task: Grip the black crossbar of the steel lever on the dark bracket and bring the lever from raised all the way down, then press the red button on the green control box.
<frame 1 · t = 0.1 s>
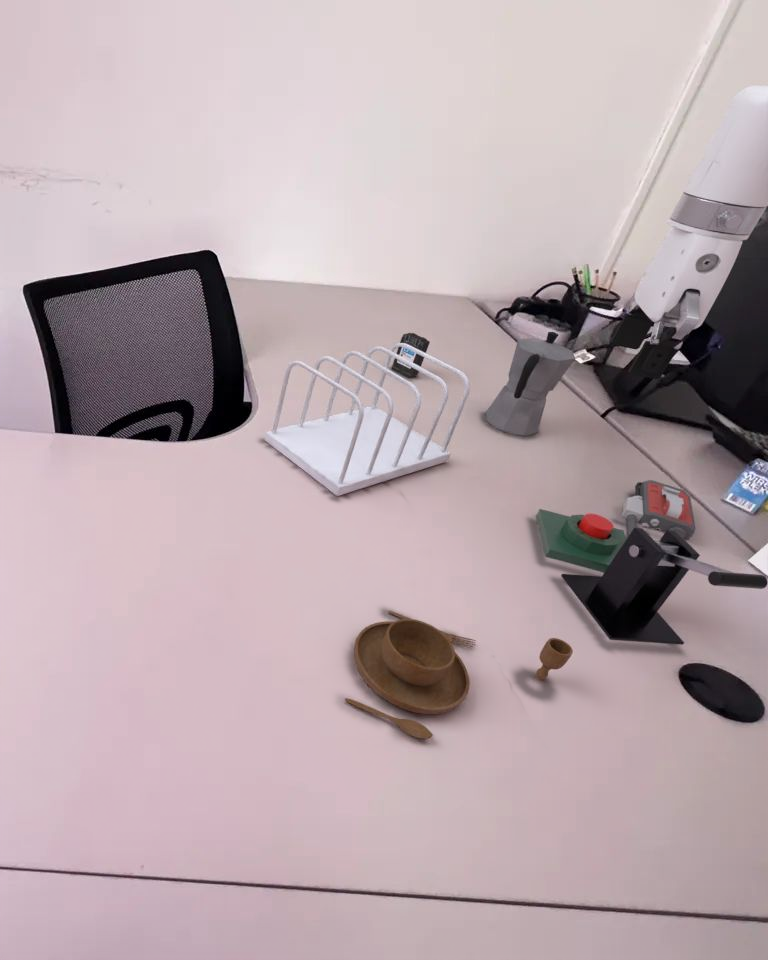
hand: (633, 360, 83), 26 cm above the table, tool pointing down, fingers open, 9 cm apart
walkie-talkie: (651, 526, 101), on the table
lever: (692, 564, 74), point 12 cm above the table, hinge at 25.0°
control box: (580, 551, 94), on the table
button: (595, 526, 92), point 4 cm above the table, slide at 0.1 cm
place setting: (444, 690, 72), on the table
file sorter: (354, 452, 111), on the table
bracket: (615, 613, 84), on the table
coffeepot: (507, 426, 124), on the table
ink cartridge: (403, 373, 140), on the table
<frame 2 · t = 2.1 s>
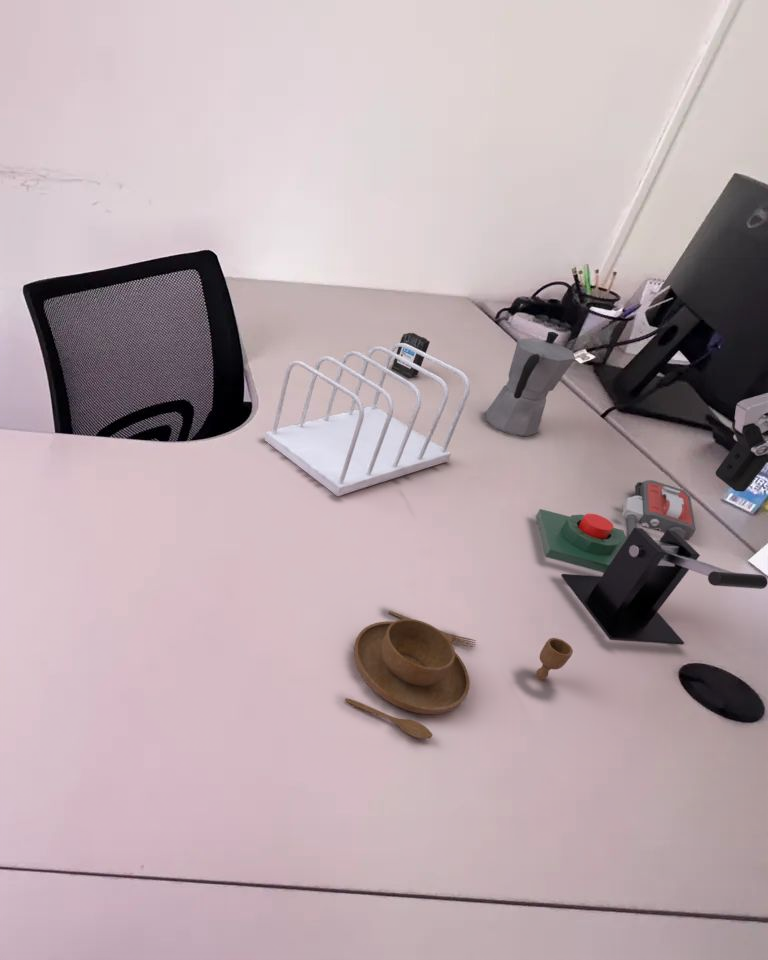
nothing on the table moved.
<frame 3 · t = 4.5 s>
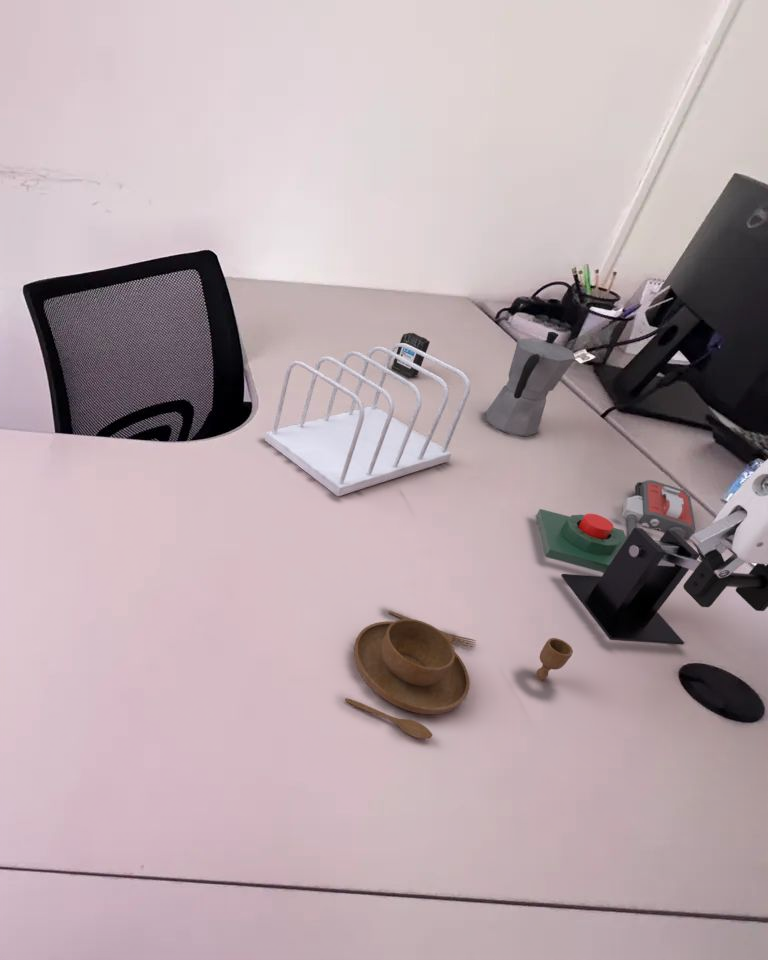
hand: (722, 598, 70), 12 cm above the table, tool pointing down, fingers closed on lever, 5 cm apart
lever: (692, 564, 74), point 12 cm above the table, hinge at 25.0°, touching gripper
everything else where it was.
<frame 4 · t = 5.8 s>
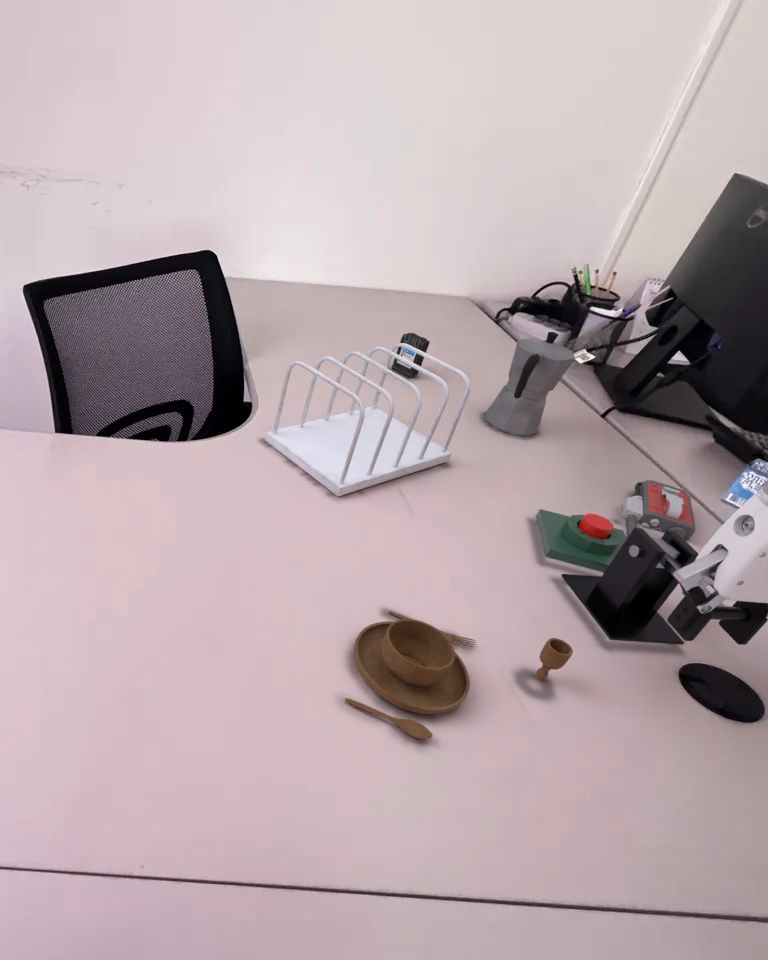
hand: (705, 631, 72), 8 cm above the table, tool pointing down, fingers closed on lever, 5 cm apart
lever: (686, 579, 75), point 10 cm above the table, hinge at 2.4°, touching gripper
everything else where it was.
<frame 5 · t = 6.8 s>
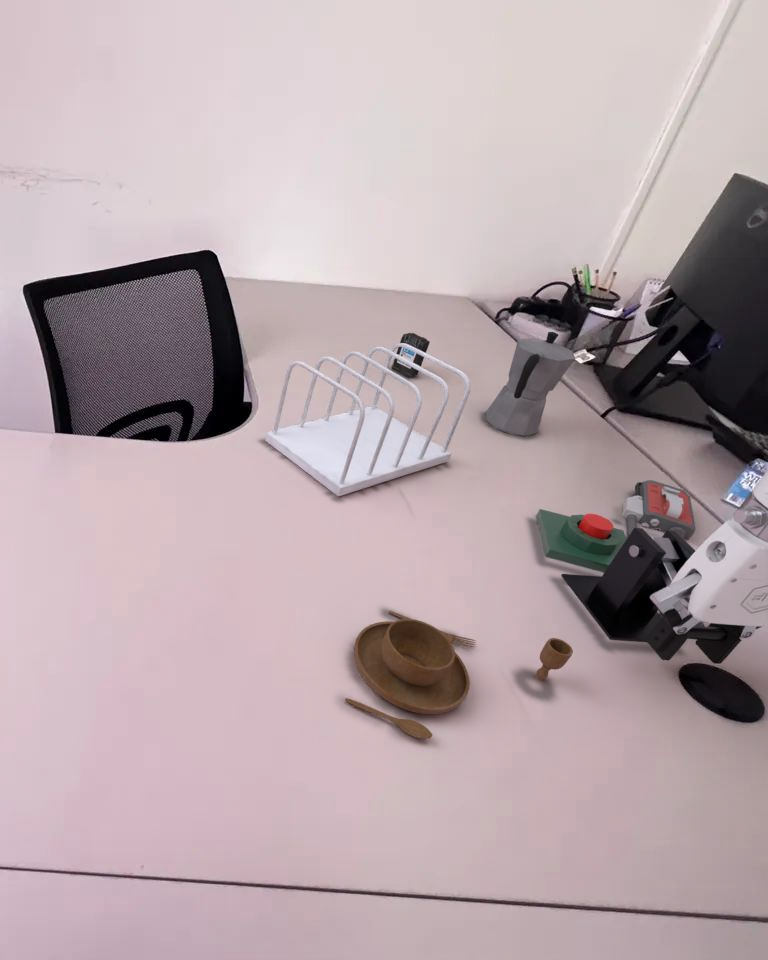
hand: (682, 650, 74), 4 cm above the table, tool pointing down, fingers closed on lever, 5 cm apart
lever: (676, 588, 76), point 9 cm above the table, hinge at -18.2°, touching gripper
everything else where it was.
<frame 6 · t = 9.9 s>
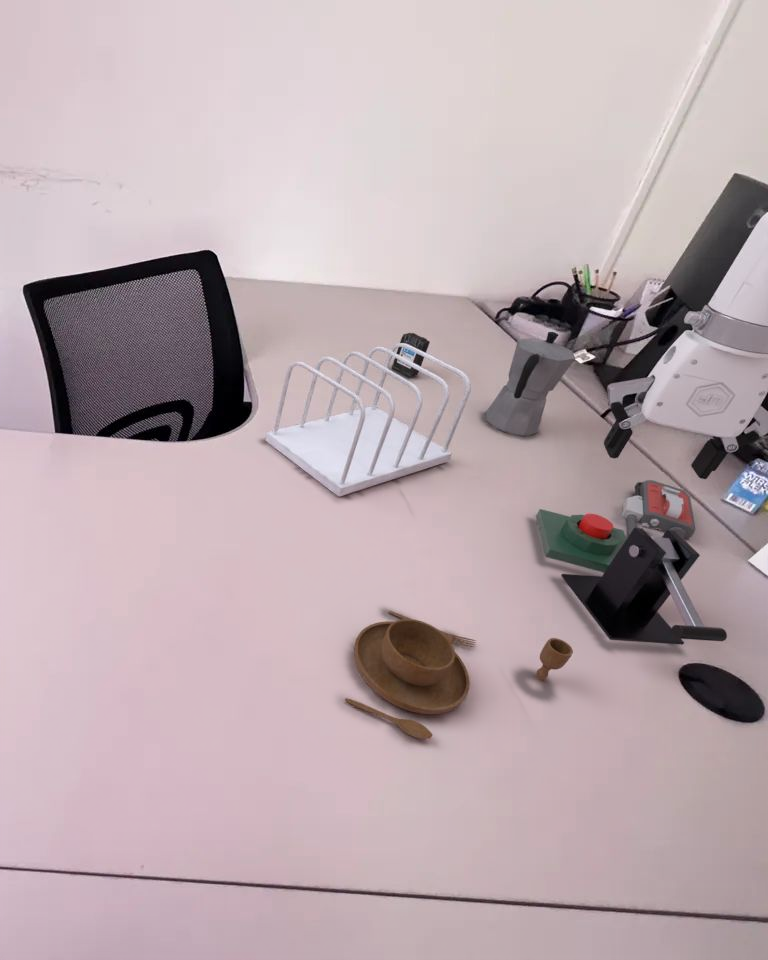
hand: (653, 462, 82), 17 cm above the table, tool pointing down, fingers open, 9 cm apart
lever: (676, 588, 76), point 9 cm above the table, hinge at -18.6°
everything else where it was.
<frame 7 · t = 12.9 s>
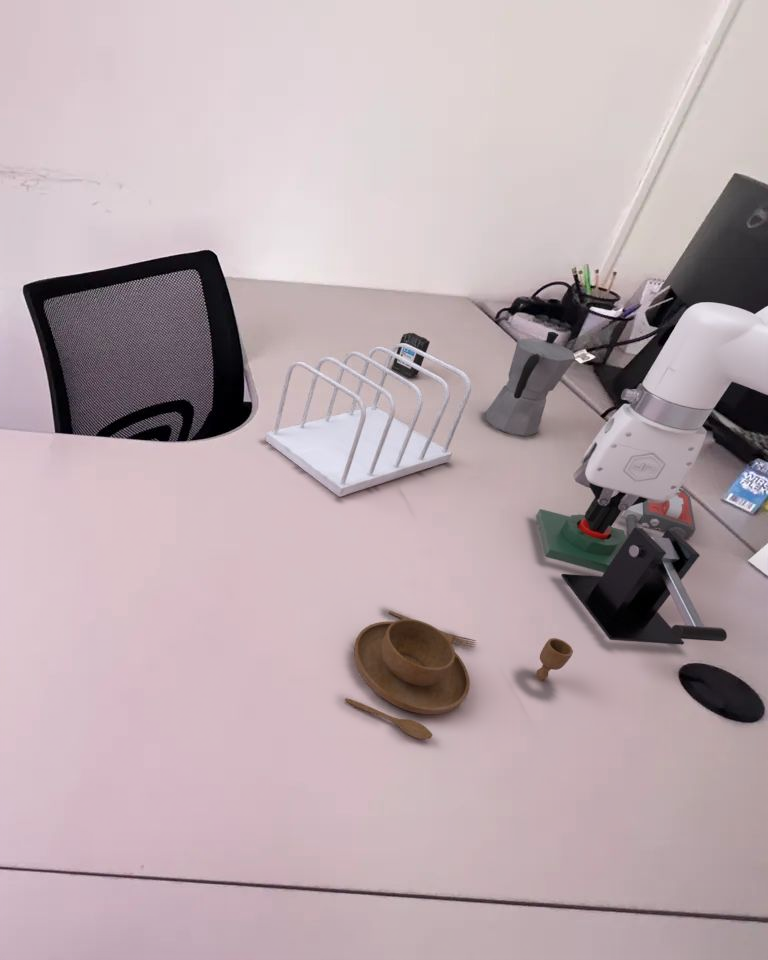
hand: (594, 525, 92), 5 cm above the table, tool pointing down, fingers closed
button: (592, 531, 92), point 4 cm above the table, slide at -0.7 cm, touching gripper
everything else where it was.
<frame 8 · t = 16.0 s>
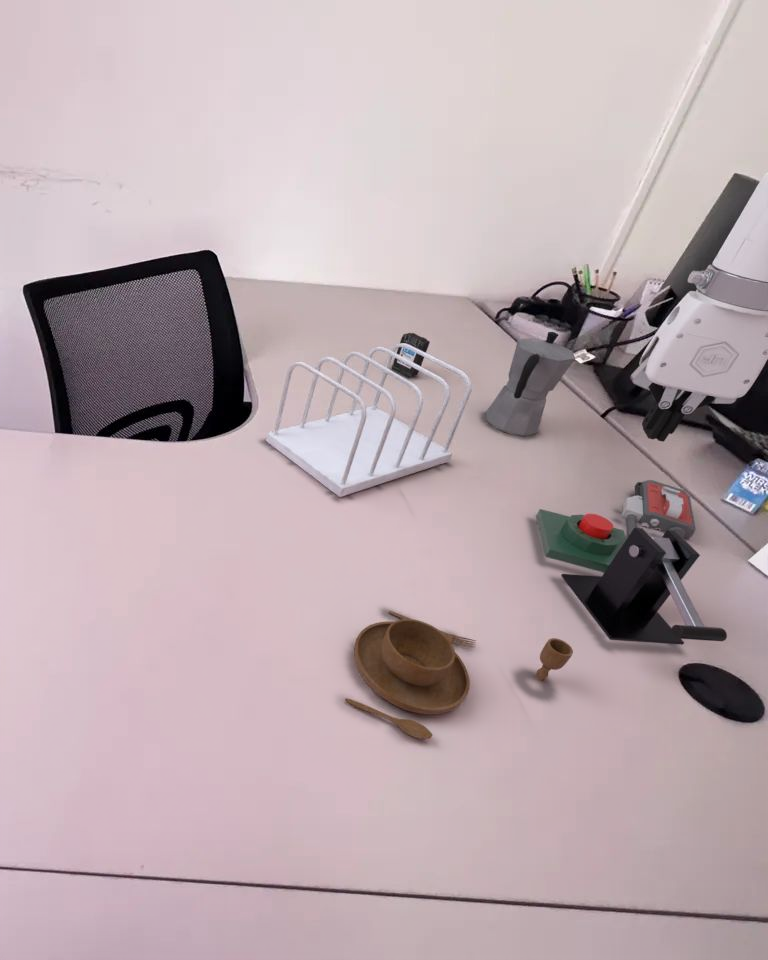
hand: (652, 434, 83), 19 cm above the table, tool pointing down, fingers closed
button: (595, 526, 92), point 4 cm above the table, slide at 0.1 cm
everything else where it was.
at the end: lever at -19° (first picture: +25°); button pushed in 1.1 cm at the most during the clip, back to where it started at the end; button slide at 0.1 cm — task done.
